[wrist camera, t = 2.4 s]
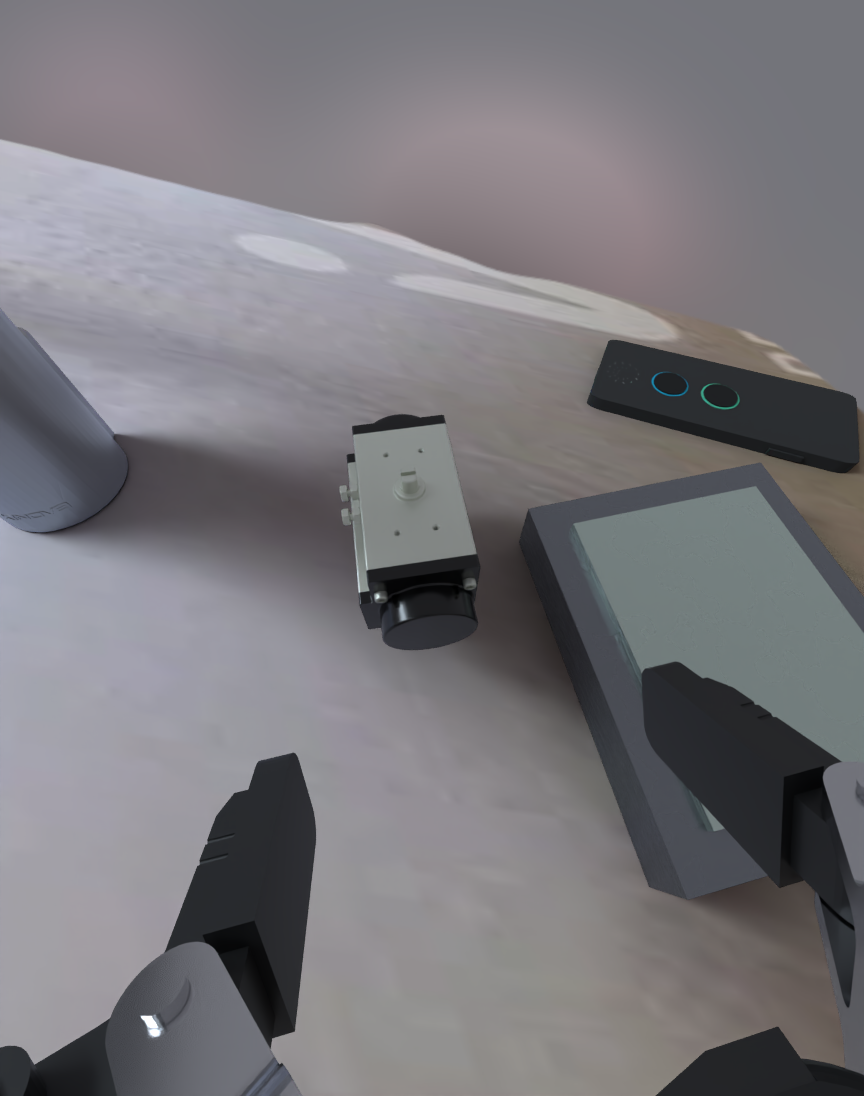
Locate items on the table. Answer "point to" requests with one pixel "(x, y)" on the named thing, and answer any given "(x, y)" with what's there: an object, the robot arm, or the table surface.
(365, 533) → the pneumatic valve
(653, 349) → the smart home device
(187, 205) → the table surface
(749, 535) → the grey picture frame
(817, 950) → the table surface
